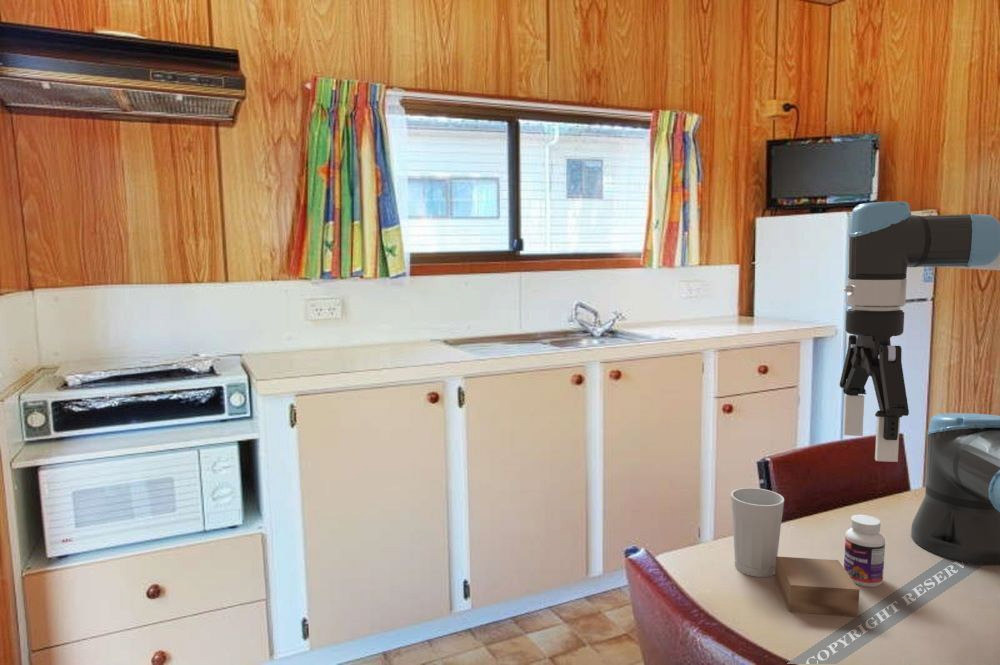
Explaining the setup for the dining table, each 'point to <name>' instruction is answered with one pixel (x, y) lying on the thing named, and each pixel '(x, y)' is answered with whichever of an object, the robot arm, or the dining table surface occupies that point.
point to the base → (816, 586)
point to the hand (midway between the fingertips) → (868, 447)
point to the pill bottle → (864, 551)
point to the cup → (756, 530)
